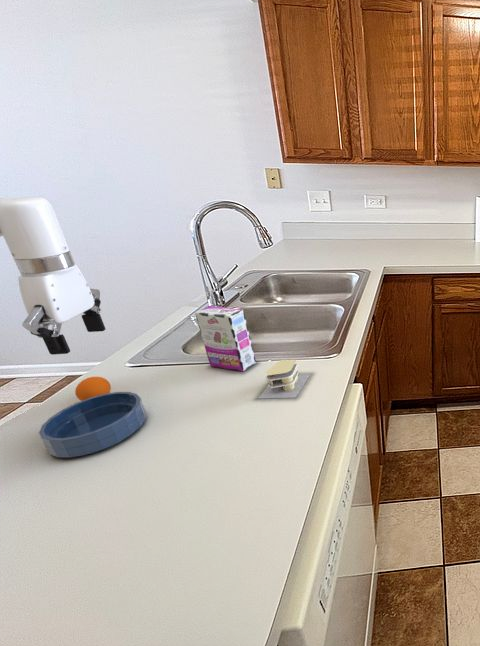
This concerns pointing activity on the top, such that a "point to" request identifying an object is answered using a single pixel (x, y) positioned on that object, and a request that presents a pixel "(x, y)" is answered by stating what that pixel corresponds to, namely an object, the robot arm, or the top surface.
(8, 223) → the robot arm
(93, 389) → the orange
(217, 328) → the candy bar box
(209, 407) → the top surface
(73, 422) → the bowl
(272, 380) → the stacked layers on plate
